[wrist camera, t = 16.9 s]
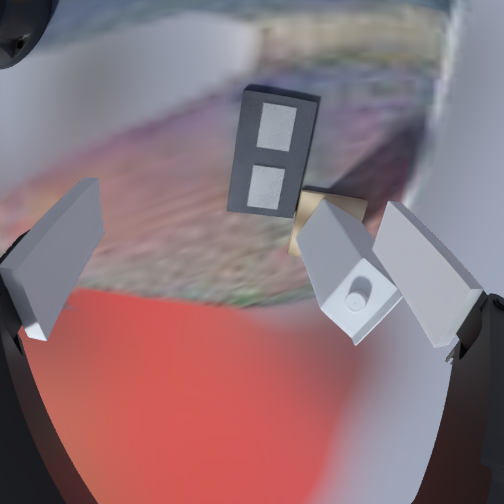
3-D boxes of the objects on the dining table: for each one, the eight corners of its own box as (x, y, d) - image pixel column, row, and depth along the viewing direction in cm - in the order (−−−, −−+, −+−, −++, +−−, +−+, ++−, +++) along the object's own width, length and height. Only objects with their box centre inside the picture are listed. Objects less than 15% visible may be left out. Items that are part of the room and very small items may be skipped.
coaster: (301, 189, 41) (302, 191, 40) (366, 200, 42) (368, 202, 41) (286, 252, 46) (287, 254, 45) (347, 257, 47) (348, 260, 46)
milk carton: (360, 220, 43) (422, 306, 27) (332, 256, 46) (377, 352, 30) (322, 197, 40) (379, 283, 24) (294, 237, 44) (329, 337, 27)
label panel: (243, 89, 33) (244, 90, 32) (315, 102, 34) (318, 103, 33) (227, 208, 41) (227, 212, 40) (291, 215, 43) (293, 219, 41)
